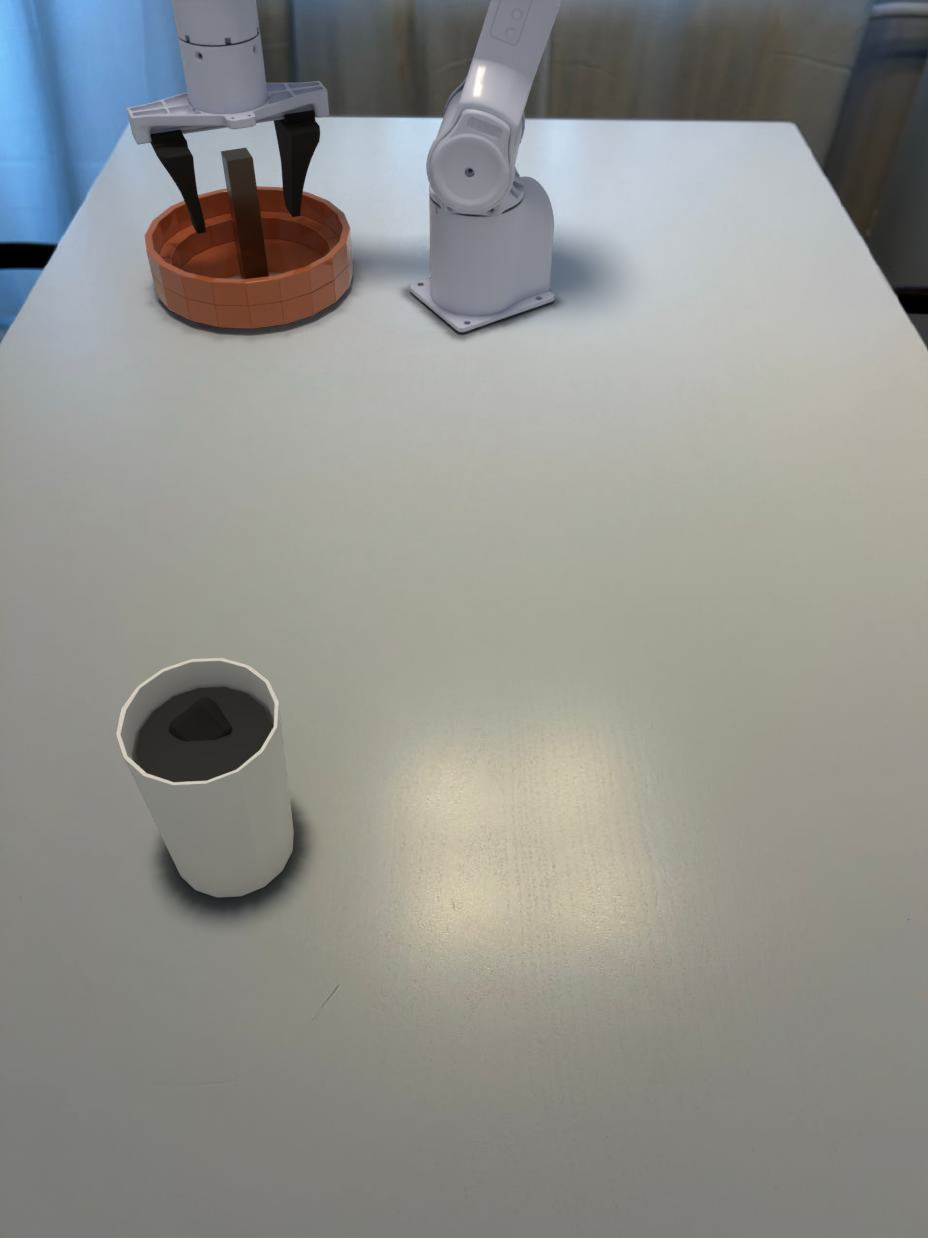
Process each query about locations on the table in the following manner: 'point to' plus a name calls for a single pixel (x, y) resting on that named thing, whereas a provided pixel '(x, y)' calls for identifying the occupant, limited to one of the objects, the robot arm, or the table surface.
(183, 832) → the white cup
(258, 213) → the stick
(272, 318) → the bowl
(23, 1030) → the table surface
